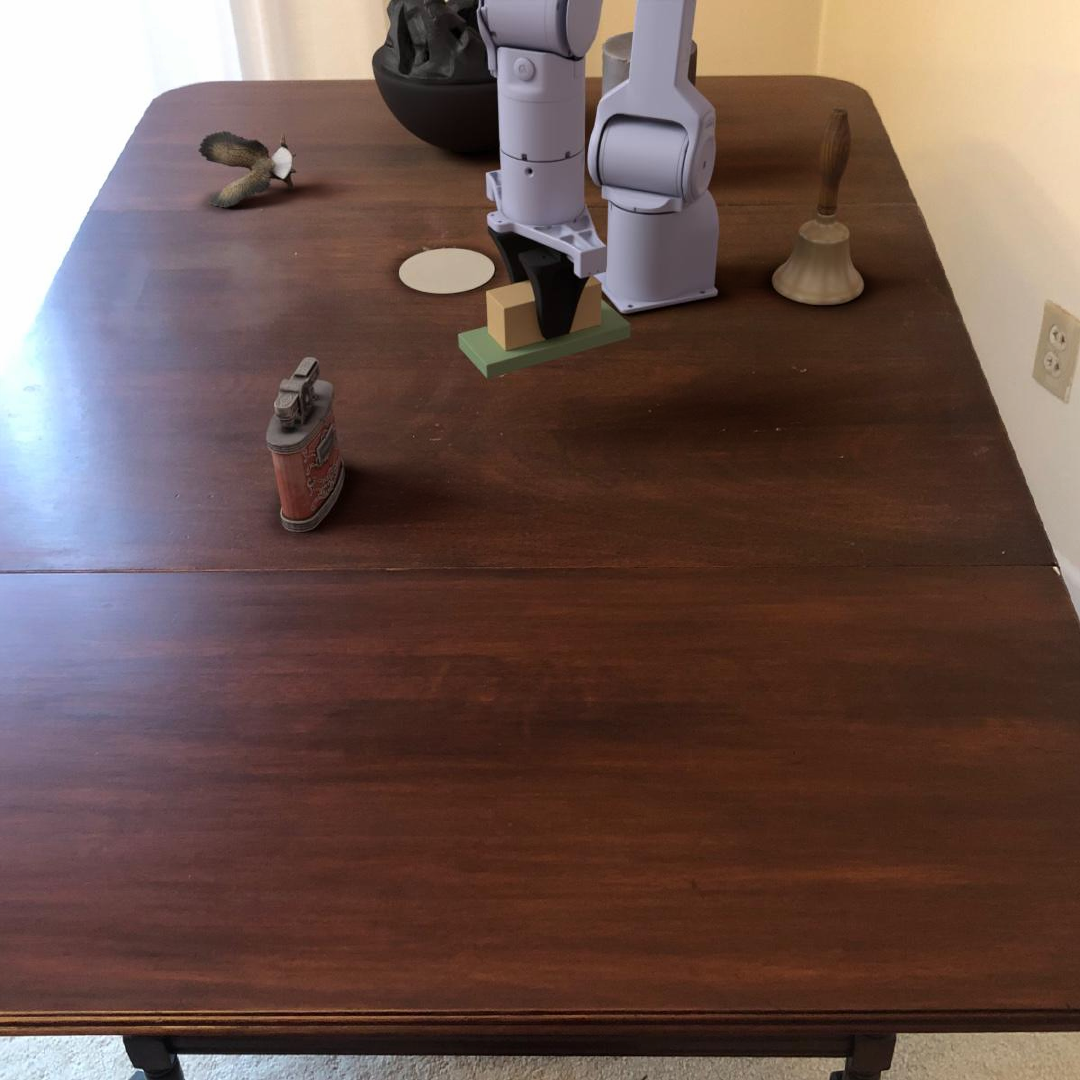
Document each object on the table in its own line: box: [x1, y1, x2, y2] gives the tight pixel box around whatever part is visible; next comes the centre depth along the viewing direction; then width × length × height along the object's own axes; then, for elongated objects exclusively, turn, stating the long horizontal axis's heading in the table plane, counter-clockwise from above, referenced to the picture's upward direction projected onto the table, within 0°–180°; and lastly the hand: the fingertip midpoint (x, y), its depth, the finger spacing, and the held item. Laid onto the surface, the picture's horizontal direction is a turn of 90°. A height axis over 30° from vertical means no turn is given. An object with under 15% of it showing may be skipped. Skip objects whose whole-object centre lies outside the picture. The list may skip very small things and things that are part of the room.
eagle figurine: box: [198, 130, 297, 208], centre depth 127 cm, size 8×7×9 cm
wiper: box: [457, 276, 632, 379], centre depth 90 cm, size 5×12×5 cm, turn 117°
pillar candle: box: [601, 31, 698, 123], centre depth 126 cm, size 10×10×15 cm
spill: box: [398, 247, 496, 295], centre depth 115 cm, size 9×9×1 cm
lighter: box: [265, 356, 346, 533], centre depth 85 cm, size 8×3×10 cm, turn 168°
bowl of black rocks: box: [371, 0, 500, 153], centre depth 132 cm, size 20×20×19 cm
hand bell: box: [771, 108, 865, 306], centre depth 107 cm, size 8×8×16 cm
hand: (544, 323), depth 91 cm, fingers closed on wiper, 3 cm apart
